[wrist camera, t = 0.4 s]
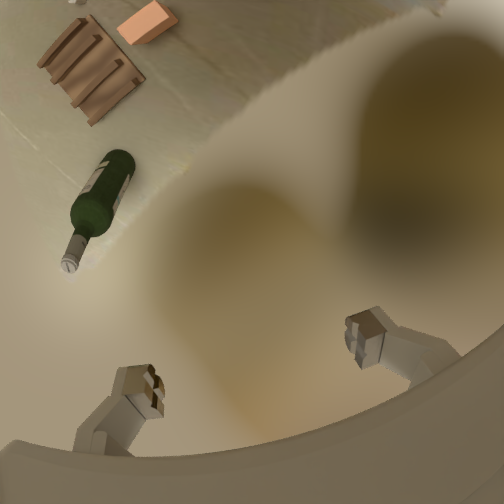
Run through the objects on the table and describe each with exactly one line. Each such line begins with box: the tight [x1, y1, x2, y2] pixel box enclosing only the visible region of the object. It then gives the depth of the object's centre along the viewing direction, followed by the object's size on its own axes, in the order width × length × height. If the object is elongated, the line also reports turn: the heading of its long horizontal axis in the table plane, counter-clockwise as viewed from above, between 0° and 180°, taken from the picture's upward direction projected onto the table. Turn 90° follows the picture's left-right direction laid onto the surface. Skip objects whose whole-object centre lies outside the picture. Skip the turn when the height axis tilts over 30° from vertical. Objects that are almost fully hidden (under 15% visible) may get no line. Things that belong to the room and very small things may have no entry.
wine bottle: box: [61, 150, 135, 273], centre depth 42 cm, size 8×8×30 cm
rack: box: [36, 15, 146, 127], centre depth 34 cm, size 20×14×4 cm
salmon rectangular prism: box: [117, 0, 179, 45], centre depth 29 cm, size 4×7×11 cm, turn 120°
